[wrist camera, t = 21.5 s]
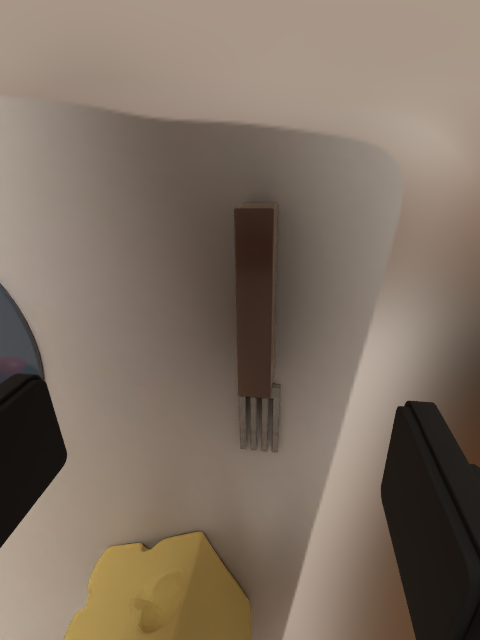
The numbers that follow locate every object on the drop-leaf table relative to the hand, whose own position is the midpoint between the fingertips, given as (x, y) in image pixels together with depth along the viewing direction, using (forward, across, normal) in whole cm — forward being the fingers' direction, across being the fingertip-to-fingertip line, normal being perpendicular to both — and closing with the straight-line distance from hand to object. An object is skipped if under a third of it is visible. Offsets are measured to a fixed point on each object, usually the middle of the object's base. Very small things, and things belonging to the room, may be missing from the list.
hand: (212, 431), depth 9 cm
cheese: (+12, +7, +27) cm, 31 cm away
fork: (+12, 0, +4) cm, 12 cm away
